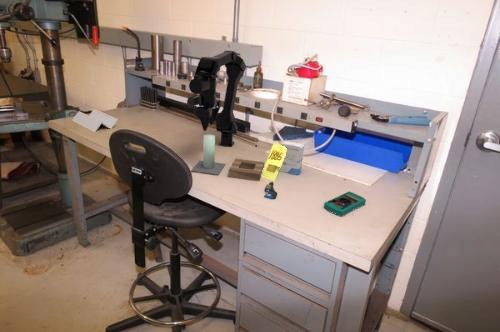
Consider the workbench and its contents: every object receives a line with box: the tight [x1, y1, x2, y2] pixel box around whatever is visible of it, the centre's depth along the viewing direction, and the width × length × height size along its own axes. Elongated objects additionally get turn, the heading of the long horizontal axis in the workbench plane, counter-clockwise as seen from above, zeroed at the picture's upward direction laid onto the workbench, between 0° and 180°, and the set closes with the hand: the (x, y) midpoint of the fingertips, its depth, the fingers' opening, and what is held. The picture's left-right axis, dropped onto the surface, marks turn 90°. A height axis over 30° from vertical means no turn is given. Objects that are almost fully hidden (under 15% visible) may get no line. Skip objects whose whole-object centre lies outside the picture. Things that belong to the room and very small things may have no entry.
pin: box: [202, 133, 216, 169], centre depth 135 cm, size 4×4×13 cm
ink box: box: [279, 140, 305, 176], centre depth 138 cm, size 9×5×12 cm, turn 65°
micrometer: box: [263, 181, 278, 200], centre depth 123 cm, size 12×2×5 cm
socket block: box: [228, 158, 265, 182], centre depth 135 cm, size 12×12×3 cm
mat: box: [190, 160, 226, 176], centre depth 138 cm, size 11×11×1 cm
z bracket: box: [71, 108, 119, 133], centre depth 180 cm, size 12×25×6 cm
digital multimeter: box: [323, 191, 367, 217], centre depth 116 cm, size 7×15×3 cm, turn 131°
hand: (208, 127), depth 144 cm, fingers open, 9 cm apart
